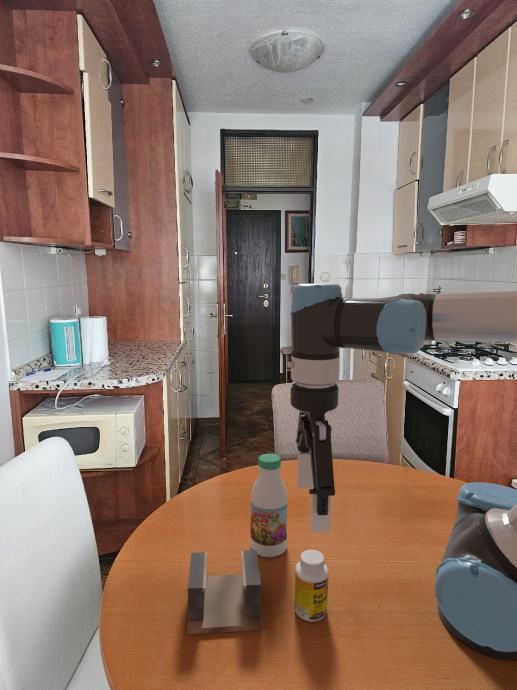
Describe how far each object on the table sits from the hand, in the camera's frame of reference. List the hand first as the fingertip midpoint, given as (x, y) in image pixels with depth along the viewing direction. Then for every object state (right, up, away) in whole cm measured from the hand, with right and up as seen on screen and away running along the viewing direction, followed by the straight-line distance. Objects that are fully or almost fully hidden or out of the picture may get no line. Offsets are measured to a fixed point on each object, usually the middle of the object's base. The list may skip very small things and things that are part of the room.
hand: (312, 507), depth 72 cm
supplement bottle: (0, -19, +2) cm, 19 cm away
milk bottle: (-7, -16, +20) cm, 26 cm away
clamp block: (-15, -18, +4) cm, 24 cm away
